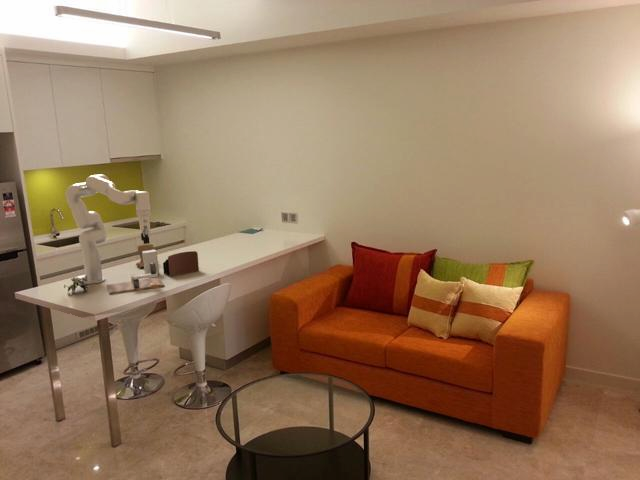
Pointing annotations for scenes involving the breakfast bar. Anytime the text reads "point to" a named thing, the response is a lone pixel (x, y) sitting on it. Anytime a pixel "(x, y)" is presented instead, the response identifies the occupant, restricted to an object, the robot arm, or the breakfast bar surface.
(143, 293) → the breakfast bar surface
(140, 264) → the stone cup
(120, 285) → the jamb plate
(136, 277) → the crank handle
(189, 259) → the letter holder
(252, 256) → the breakfast bar surface
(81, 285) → the passion flower
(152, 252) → the skincare box
